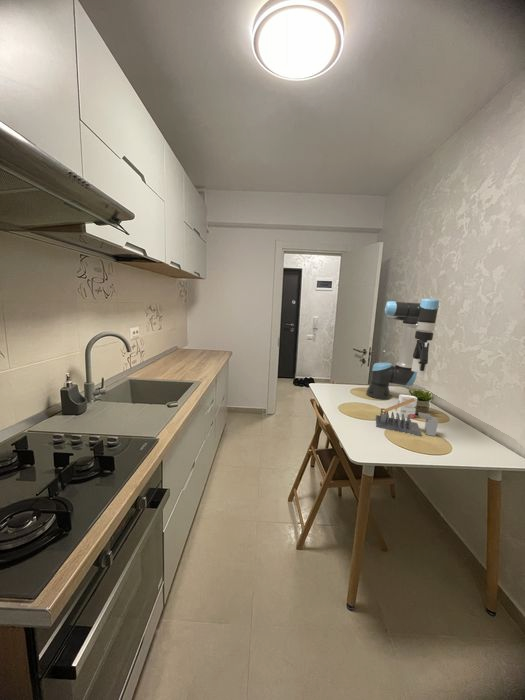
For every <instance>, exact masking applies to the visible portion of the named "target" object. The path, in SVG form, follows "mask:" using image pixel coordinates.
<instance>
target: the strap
mask: <svg viewBox="0 0 525 700" xmlns="http://www.w3.org/2000/svg"><path fill="white" fill-rule="evenodd" d="M414 401H415V400H414V398H412V399H410V400H407V401H404V402H402V403H399V404H398V403H396V404H394V405H392V406H389V407H386V408H383V409H382V412H383V413H387V412H388V413H389V412H390V411H391V412H392V411H393V410H395V409H396V410H397V408H399V407H401V406H404V405H406V404H409V403H412V402H414Z"/></svg>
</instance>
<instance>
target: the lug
mask: <svg viewBox="0 0 525 700" xmlns="http://www.w3.org/2000/svg"><path fill="white" fill-rule="evenodd" d="M418 417H419V418H421V419H422V418H423V419H425V424H424V429H423V430H424V433H425V435H429V436H433V437H436V434H437V429H438V423H439V419H437V417H435V416H431V414H430V413H424V412H419V411H418Z"/></svg>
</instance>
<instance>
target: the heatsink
mask: <svg viewBox="0 0 525 700" xmlns="http://www.w3.org/2000/svg"><path fill="white" fill-rule="evenodd" d="M382 409H383V408H382V407H381V409H380V415H378V414H376V415H375V427H376V428H380V429H383V430H389V431H393V430H394V431H393V432H398V431H399V433H403V432H405V433H404V434H407V433H410V434H409V435H412V434H414V435H413V436H417V435H419V436H418V437H421V434H422V432H421V430H420V427H419V424H418V422H413V421H412V420H411V418H410V417H409V415H407V417H404V414H402V417H399V414H398V413H397V412H396V413H397V414H396V416H395V413H394V412H393V411H391V415H390V414H389V411H388V412H386V413H383V412H382Z"/></svg>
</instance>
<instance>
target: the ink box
mask: <svg viewBox="0 0 525 700" xmlns="http://www.w3.org/2000/svg"><path fill="white" fill-rule="evenodd" d="M412 398H414V400H415V401H414V402H412V403H409V404H406V405H404V406H401V407H399V408H396V412H395V413H396V415H397V413H398V414H399V417H400V418H402V414H404V417H405V418H407V415H409V417H410V419H415V417H416V410H417V404H418V397H416V396H414V395H407V394H398V402H397V404H399V403H402V402H404V401H407V400H410V399H412Z"/></svg>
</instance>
